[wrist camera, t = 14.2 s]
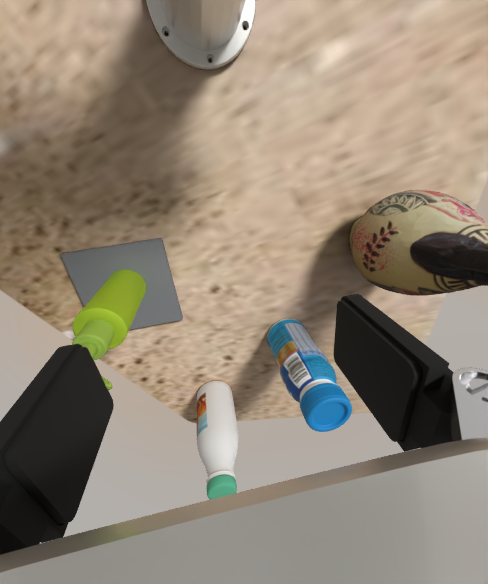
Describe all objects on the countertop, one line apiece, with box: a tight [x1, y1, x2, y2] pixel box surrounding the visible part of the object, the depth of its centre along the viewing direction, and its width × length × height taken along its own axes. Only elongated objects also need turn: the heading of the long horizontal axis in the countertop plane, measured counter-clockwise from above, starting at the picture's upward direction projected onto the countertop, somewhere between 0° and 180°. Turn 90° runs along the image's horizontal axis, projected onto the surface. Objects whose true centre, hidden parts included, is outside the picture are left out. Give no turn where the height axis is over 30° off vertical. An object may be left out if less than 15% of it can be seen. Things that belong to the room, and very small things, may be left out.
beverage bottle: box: [267, 319, 352, 432], centre depth 44 cm, size 8×8×20 cm
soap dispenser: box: [72, 270, 146, 390], centre depth 33 cm, size 6×7×20 cm
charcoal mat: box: [61, 238, 183, 330], centre depth 42 cm, size 15×15×1 cm
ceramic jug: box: [349, 190, 488, 295], centre depth 33 cm, size 17×15×30 cm
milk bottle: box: [197, 381, 238, 500], centre depth 47 cm, size 8×8×20 cm
